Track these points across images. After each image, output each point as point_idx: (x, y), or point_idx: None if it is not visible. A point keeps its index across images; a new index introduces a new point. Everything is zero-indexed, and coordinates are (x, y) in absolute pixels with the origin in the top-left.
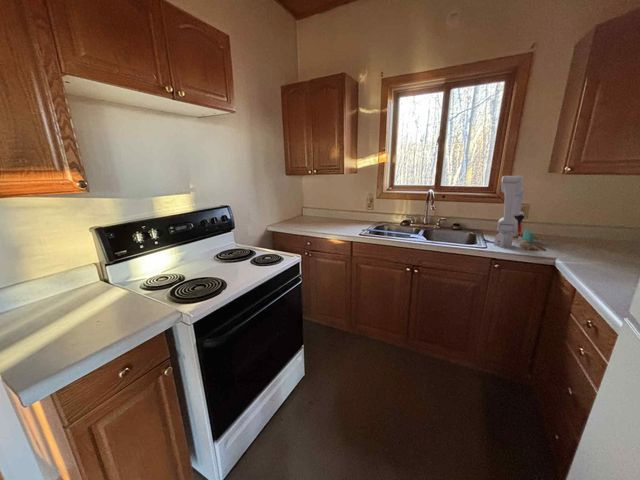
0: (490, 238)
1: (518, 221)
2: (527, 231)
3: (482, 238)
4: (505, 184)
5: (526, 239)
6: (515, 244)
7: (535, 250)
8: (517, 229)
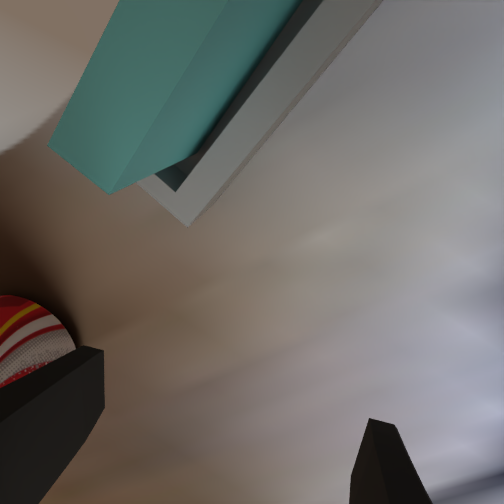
0: None
1: (2, 462)
2: (208, 27)
3: (466, 500)
4: None
5: (269, 30)
6: (459, 102)
7: None
8: None
